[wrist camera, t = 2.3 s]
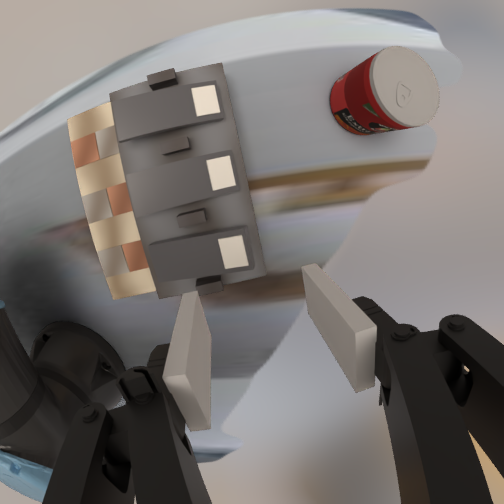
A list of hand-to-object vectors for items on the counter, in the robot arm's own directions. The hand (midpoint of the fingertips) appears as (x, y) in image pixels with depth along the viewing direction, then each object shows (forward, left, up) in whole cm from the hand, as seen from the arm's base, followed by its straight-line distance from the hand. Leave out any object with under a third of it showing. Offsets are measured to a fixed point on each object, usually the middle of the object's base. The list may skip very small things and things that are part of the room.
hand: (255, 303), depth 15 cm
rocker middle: (+3, +6, -12) cm, 14 cm away
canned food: (+20, -8, -19) cm, 28 cm away
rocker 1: (+9, +10, -12) cm, 18 cm away
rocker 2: (-2, +3, -12) cm, 12 cm away
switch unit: (+2, +9, -19) cm, 21 cm away
